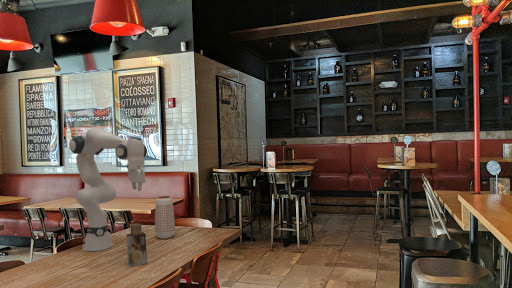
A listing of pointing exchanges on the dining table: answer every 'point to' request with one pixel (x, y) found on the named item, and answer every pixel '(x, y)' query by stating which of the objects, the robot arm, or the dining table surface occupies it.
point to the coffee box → (136, 249)
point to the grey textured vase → (164, 217)
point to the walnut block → (136, 229)
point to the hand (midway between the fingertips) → (136, 190)
